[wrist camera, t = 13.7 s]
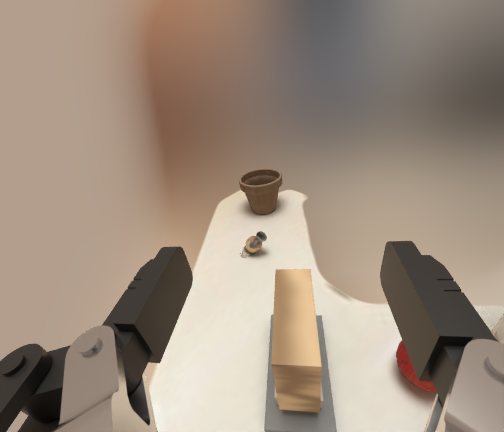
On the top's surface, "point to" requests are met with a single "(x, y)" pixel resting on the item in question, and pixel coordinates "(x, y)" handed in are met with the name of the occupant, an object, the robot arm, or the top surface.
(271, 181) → the flower pot
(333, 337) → the top surface
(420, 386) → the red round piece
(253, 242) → the vase
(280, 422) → the peg stand
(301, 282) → the brown rectangular block
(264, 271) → the top surface
